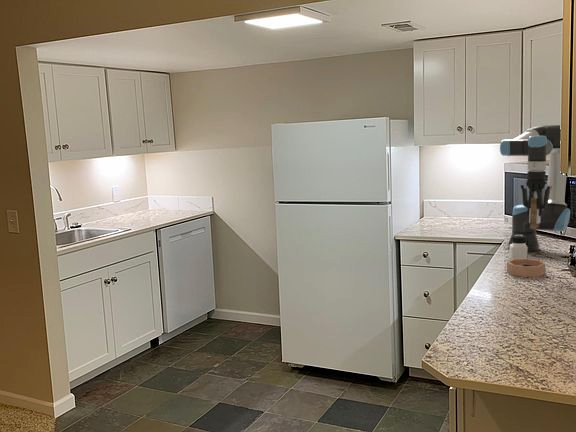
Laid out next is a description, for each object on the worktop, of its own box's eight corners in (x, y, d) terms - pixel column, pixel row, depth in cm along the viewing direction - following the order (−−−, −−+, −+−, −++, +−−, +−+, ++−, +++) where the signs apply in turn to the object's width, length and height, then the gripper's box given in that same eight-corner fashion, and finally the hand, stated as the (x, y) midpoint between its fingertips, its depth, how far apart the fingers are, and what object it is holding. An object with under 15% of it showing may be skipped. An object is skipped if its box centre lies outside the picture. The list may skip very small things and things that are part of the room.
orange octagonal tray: (516, 266, 273) (516, 257, 272) (548, 271, 262) (549, 261, 262) (502, 273, 262) (502, 263, 262) (535, 278, 252) (535, 268, 251)
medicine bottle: (527, 261, 281) (528, 237, 279) (511, 261, 282) (512, 237, 280) (524, 258, 287) (525, 234, 286) (509, 258, 289) (509, 234, 287)
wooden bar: (533, 227, 269) (534, 196, 267) (539, 227, 268) (540, 197, 265) (529, 228, 266) (530, 197, 264) (535, 229, 265) (536, 198, 263)
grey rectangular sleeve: (523, 267, 267) (523, 263, 266) (535, 269, 263) (535, 265, 262) (516, 271, 262) (516, 266, 261) (528, 272, 258) (528, 268, 258)
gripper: (515, 170, 266) (514, 222, 269) (551, 172, 255) (549, 225, 259) (522, 169, 271) (521, 220, 275) (557, 170, 260) (555, 223, 264)
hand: (534, 222), depth 267 cm, fingers closed on wooden bar, 2 cm apart
